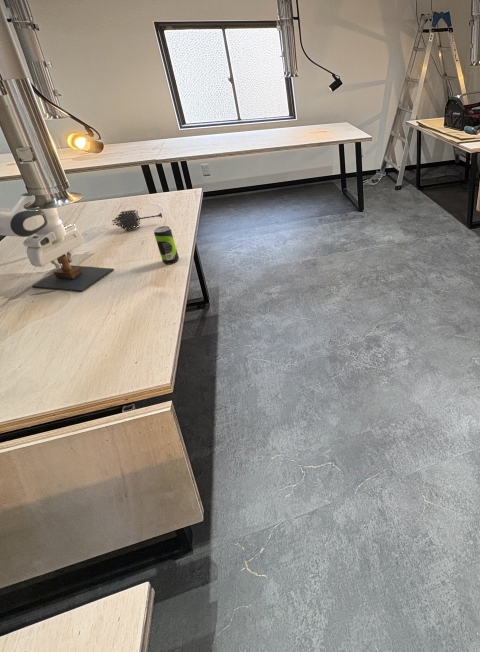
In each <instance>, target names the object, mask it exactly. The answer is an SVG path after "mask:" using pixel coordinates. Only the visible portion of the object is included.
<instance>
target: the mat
mask: <svg viewBox="0 0 480 652" xmlns="http://www.w3.org/2000/svg"><path fill="white" fill-rule="evenodd" d="M70 266H71V267H79V268H80V269H81V271H82V273H83V274H82V275H80V276H79V277H77V278H75V279H74V280H69V279H60V278H56V276H55V274H54V272H53V273H51V274H50V275H48V276H46V277H45V278H42V279H41V280H40V281H37V282H36V283H34V284H33V285H31V287H32V288H34V289H43V290H54V291H55V290H56V291H67V292H79V293H83V292H84V291H86V290H87V289H89V288H90V287H91V286H93V285H95V284H96V283H98V282H99V281H101V280H102V279H103V278H105V277H106V276H108V275H109V274H111V273H112V272H114V271H115V269H114V268H111V267H99V266H98V267H97V266H85V265H72V264H70ZM113 270H114V271H113ZM110 272H111V273H110ZM107 274H108V275H107ZM104 276H105V277H104ZM101 278H102V279H101ZM97 281H98V282H97Z"/></svg>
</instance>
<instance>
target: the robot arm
mask: <svg viewBox="0 0 480 652" xmlns="http://www.w3.org/2000/svg"><path fill="white" fill-rule="evenodd" d="M32 199H33V197H32V195H30V194H29V192H24V193H22V194H21V195H20V199H19V201H18V202H17V203H16V204H15V205H14V206H13V207H12V208H7V207H0V237H2V236H4V237H16V238H26V237H27V238H26V239H25V240H24V241H23V242H22V244H23V246H24V247H25V248H26V247H27V248H26V249H25V250H26V251H25V252H26V256H27V258H28V260H29V263H30V265H31V266H33V267H37V268H42V267H44V266H46V265H48V264H49V263H51V264H52V265H54V267H55V269H56V270H57V269H60V268H62V267H63V265H62V263H58V260H57V258H59V257H60V256H62V255H64V254H65V255H66V256H67V259H68V261H69V263H70V264H71V263H72V262H74V259H73V254H74V252H73V250H75V249H76V248H78V247H80V246H82V245H84V242H85V240H84V238H83V237H84V236H83V235H82V233H81V232H80V231H79V229H78V226H77V225H76V224H75V223H68V224H67V225H64V223H63V221H62V219H60V217H59V211H58V208H57V207H56V208H53V209H46V210H38V211H29V210H25V209H23V205H24V204H26V203H27V202H28V201H30V200H32Z"/></svg>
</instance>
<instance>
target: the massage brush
mask: <svg viewBox="0 0 480 652" xmlns="http://www.w3.org/2000/svg"><path fill="white" fill-rule="evenodd" d="M150 218H161V219H162V218H163V214H162V212H160V213H158V214H156V215H151V216H143V217H140V216H139V211H138V210H136V209H132V210H126V211H125V210H124V211H120V212H119V214H117V216H116V217H114V219H112V220H111V222H112V226H116V227H118V228H119V227H120V229H122V230H124V231H128V230H127V229H132V230H134V229H133V228H136V227H137V226H139V225H140V224H141V220H145V219H150ZM134 226H135V227H134ZM137 229H141V227H140V226H139V227H137Z"/></svg>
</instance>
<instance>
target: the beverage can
mask: <svg viewBox="0 0 480 652" xmlns="http://www.w3.org/2000/svg"><path fill="white" fill-rule="evenodd" d="M153 234H154V237H155V242H156V244H157V248H158V251H159V255H160V257H161V259H162V260H161V261H162V263H163V264H165V265H172V263H173V264H176V263H177V262H178V261H179V259H180V258H179V257H180V256H179V253H178V250H177V246H176V242H175V239H174V235H173V232H172V229H171V227H170V226H168V225H162V226H159V227H157V228H154V230H153Z"/></svg>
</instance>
